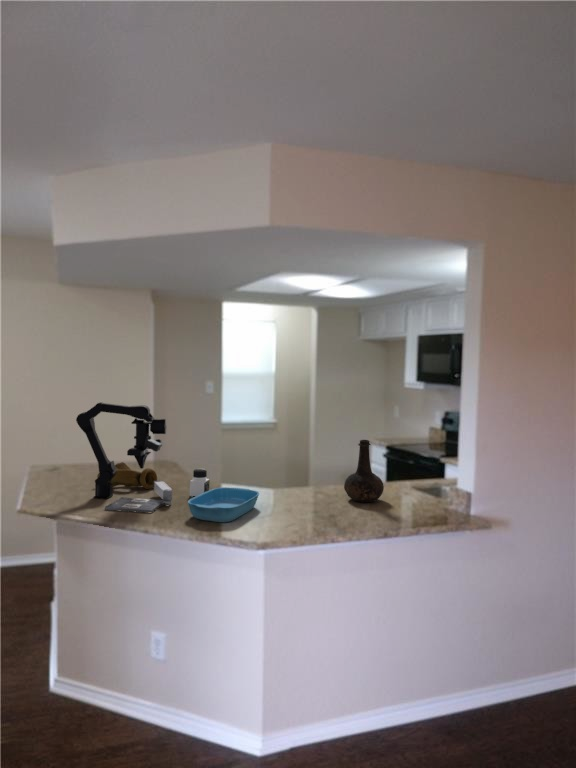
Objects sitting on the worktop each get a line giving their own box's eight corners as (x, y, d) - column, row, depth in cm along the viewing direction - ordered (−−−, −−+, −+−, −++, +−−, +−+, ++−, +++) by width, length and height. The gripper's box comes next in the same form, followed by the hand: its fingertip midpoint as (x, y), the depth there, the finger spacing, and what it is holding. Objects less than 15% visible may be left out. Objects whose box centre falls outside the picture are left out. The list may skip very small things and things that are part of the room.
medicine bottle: (204, 497, 250) (204, 471, 250) (189, 496, 251) (189, 470, 251) (209, 493, 257) (209, 468, 257) (194, 492, 258) (195, 467, 258)
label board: (104, 509, 226) (104, 504, 226) (121, 500, 242) (121, 495, 241) (159, 513, 223) (159, 508, 222) (173, 503, 238) (173, 498, 238)
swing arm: (173, 500, 235) (173, 490, 235) (163, 501, 233) (163, 491, 233) (162, 489, 252) (162, 480, 252) (153, 490, 251) (153, 481, 250)
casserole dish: (219, 499, 249) (219, 483, 249) (265, 505, 242) (265, 489, 242) (177, 521, 214) (178, 503, 214) (230, 529, 207) (231, 510, 207)
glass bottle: (390, 500, 256) (392, 440, 254) (368, 507, 243) (371, 444, 241) (358, 493, 268) (360, 436, 266) (336, 499, 255) (338, 439, 253)
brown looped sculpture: (128, 465, 280) (160, 463, 269) (124, 491, 276) (157, 490, 265) (99, 459, 265) (132, 457, 254) (95, 486, 261) (128, 485, 250)
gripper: (151, 437, 236) (151, 473, 237) (167, 431, 254) (166, 465, 255) (127, 436, 237) (126, 472, 238) (144, 430, 256) (143, 464, 257)
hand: (141, 468), depth 247 cm, fingers closed
